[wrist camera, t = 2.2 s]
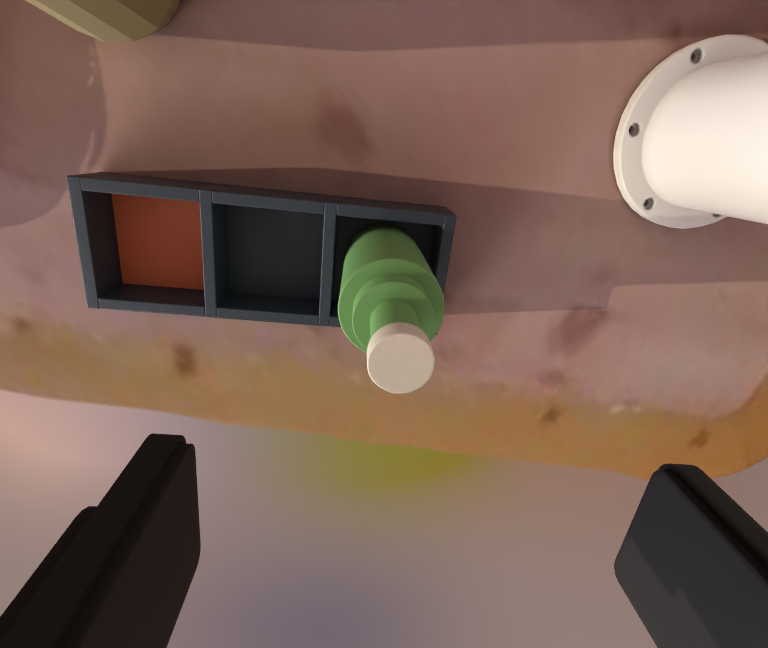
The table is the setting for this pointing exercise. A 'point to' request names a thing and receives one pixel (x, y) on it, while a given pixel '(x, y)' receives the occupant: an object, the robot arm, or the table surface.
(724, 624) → the robot arm
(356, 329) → the bottle
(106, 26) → the squeeze bottle
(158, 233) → the tray
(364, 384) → the table surface
